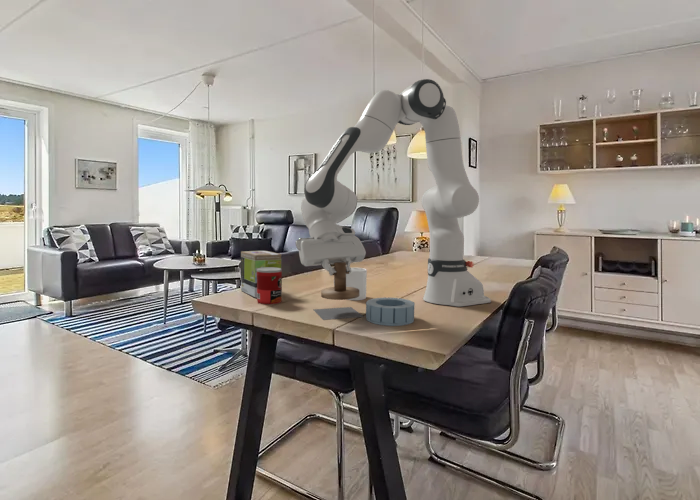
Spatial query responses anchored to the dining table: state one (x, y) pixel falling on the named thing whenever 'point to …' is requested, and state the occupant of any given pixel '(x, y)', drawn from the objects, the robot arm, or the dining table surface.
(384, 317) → the grey ridged ring
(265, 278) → the canned food
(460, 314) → the dining table surface
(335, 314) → the mat
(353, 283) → the cup
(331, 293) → the lid
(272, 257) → the tea box
